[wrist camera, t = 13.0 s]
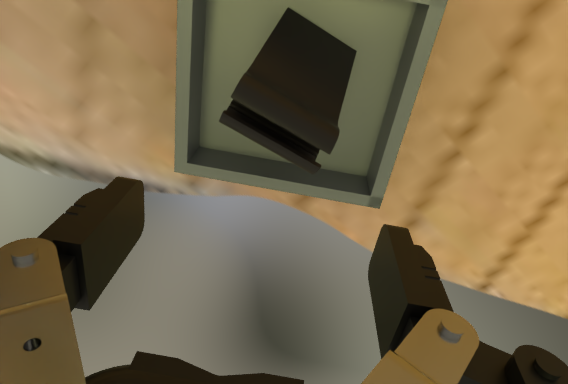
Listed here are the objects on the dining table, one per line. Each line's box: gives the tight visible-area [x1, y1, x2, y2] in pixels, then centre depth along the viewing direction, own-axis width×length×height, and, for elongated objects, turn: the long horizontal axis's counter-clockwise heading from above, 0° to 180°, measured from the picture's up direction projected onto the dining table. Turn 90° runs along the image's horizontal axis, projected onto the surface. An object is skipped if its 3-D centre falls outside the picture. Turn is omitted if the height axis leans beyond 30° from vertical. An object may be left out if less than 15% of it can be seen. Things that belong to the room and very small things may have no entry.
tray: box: [174, 0, 448, 209], centre depth 30 cm, size 17×16×4 cm
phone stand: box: [219, 7, 357, 174], centre depth 25 cm, size 9×6×12 cm, turn 150°
